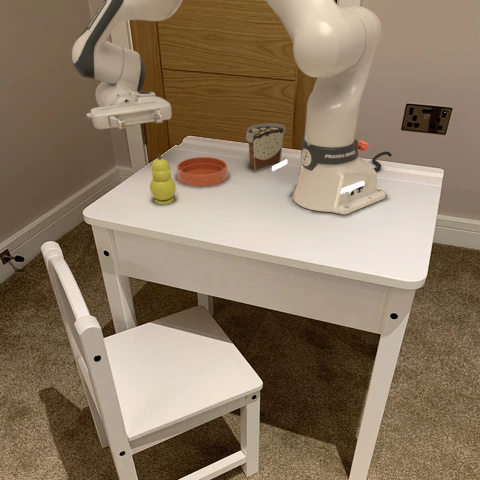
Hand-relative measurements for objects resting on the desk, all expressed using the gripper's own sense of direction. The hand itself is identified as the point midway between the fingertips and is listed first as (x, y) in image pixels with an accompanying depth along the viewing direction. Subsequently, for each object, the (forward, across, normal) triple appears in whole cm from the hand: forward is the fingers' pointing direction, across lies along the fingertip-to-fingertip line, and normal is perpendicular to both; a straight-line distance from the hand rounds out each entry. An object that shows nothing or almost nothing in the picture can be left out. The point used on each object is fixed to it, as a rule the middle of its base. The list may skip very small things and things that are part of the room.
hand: (141, 122), depth 120 cm
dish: (+5, +13, +14) cm, 20 cm away
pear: (+14, -1, +14) cm, 20 cm away
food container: (+4, +31, +15) cm, 35 cm away
